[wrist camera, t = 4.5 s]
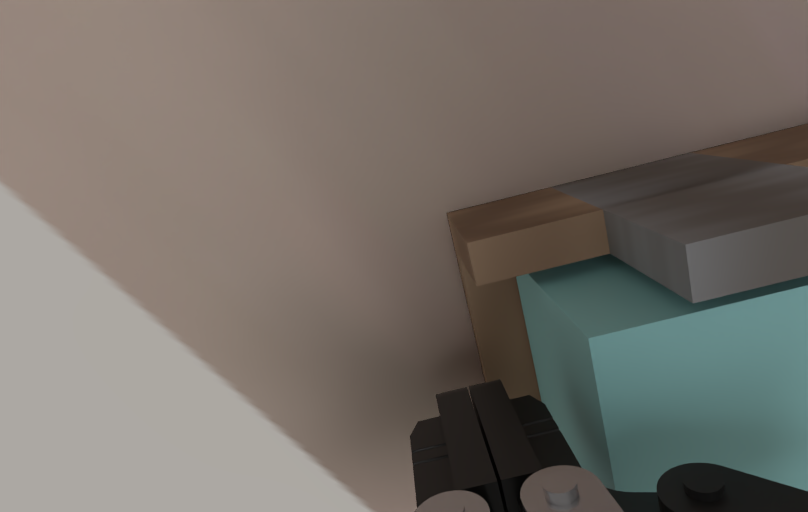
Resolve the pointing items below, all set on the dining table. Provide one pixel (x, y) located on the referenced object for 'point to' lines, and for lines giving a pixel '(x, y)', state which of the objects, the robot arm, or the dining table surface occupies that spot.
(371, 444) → the dining table surface
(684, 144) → the dining table surface
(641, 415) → the block
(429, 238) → the dining table surface
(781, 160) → the wooden rail tray
